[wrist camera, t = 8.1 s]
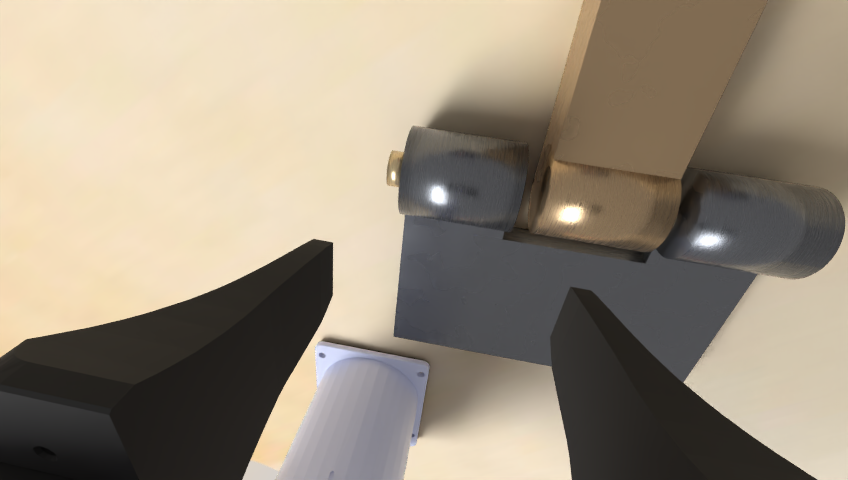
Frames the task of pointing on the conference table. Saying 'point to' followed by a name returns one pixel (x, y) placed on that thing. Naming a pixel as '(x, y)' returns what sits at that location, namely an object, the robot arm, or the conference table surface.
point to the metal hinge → (585, 254)
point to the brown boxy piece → (634, 116)
